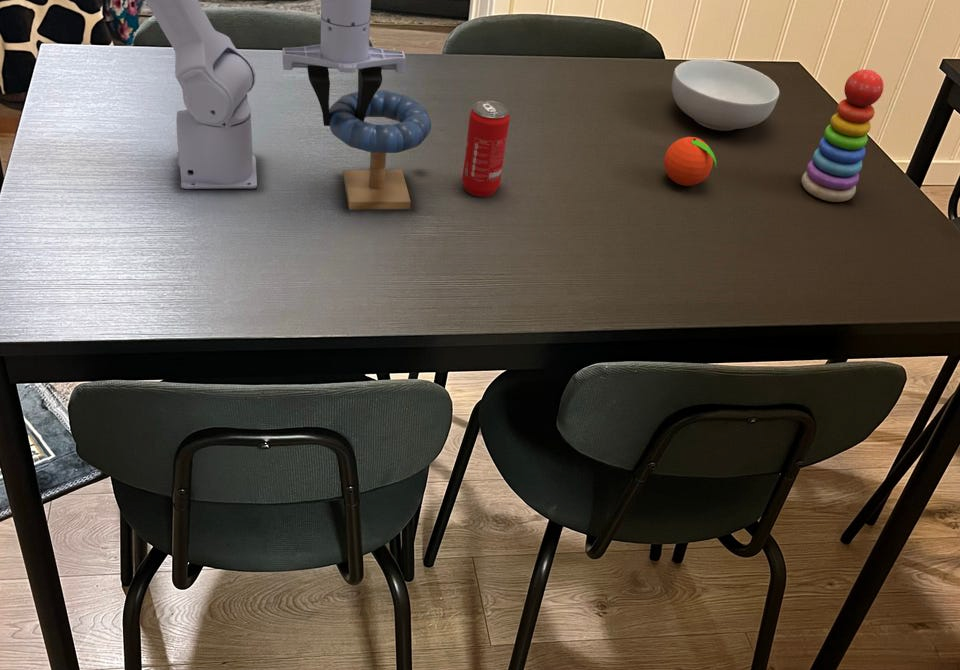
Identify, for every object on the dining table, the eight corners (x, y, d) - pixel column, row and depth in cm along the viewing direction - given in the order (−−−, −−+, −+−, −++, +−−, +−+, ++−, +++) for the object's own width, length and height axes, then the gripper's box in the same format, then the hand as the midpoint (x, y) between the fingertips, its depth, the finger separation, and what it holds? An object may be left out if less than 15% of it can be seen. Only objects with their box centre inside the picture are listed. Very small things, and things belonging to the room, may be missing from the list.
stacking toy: (856, 187, 145) (905, 71, 133) (848, 210, 139) (899, 91, 127) (805, 171, 147) (848, 55, 135) (795, 193, 141) (839, 74, 130)
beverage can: (471, 201, 129) (482, 120, 122) (455, 181, 133) (464, 102, 125) (505, 195, 131) (517, 115, 124) (488, 176, 135) (499, 97, 127)
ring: (333, 158, 116) (333, 132, 114) (324, 109, 126) (324, 84, 123) (437, 158, 119) (439, 133, 117) (420, 110, 129) (422, 86, 126)
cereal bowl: (780, 120, 160) (794, 81, 156) (745, 156, 149) (759, 114, 144) (688, 86, 166) (698, 48, 162) (647, 118, 155) (657, 77, 150)
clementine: (721, 188, 140) (734, 145, 135) (694, 203, 136) (708, 159, 131) (676, 165, 144) (688, 122, 139) (649, 179, 140) (661, 135, 135)
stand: (348, 209, 124) (350, 160, 120) (343, 177, 130) (344, 129, 126) (410, 209, 126) (413, 161, 121) (401, 177, 132) (405, 130, 127)
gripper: (283, 28, 107) (285, 137, 116) (411, 32, 110) (404, 138, 119) (281, 4, 112) (282, 110, 121) (403, 9, 116) (396, 111, 124)
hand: (342, 122), depth 120 cm, fingers closed on ring, 3 cm apart
